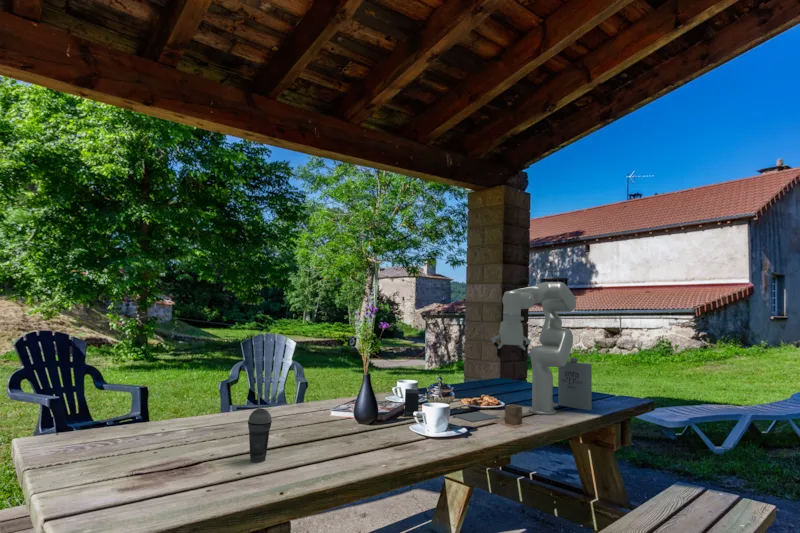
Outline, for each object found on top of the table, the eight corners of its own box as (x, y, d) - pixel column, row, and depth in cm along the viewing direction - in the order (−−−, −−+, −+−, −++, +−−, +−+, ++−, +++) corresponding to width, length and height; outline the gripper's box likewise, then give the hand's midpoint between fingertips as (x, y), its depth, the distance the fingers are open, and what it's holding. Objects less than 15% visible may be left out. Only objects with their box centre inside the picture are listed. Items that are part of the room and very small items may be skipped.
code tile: (511, 421, 212) (511, 418, 212) (534, 427, 202) (534, 424, 202) (492, 424, 205) (492, 422, 205) (515, 430, 195) (515, 428, 195)
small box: (418, 417, 215) (419, 392, 216) (404, 416, 215) (404, 392, 216) (418, 411, 226) (418, 389, 227) (404, 411, 226) (404, 388, 227)
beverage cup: (256, 465, 144) (260, 397, 146) (240, 461, 148) (244, 394, 150) (275, 459, 151) (278, 394, 152) (258, 455, 154) (262, 391, 156)
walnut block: (512, 421, 207) (512, 404, 208) (522, 423, 203) (522, 406, 204) (504, 422, 204) (505, 405, 205) (514, 425, 200) (514, 408, 201)
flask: (556, 404, 253) (556, 356, 255) (560, 403, 256) (560, 355, 258) (588, 410, 240) (588, 359, 242) (592, 409, 243) (592, 358, 245)
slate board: (478, 415, 222) (478, 411, 222) (498, 420, 213) (498, 416, 213) (453, 419, 213) (453, 415, 213) (472, 424, 203) (472, 421, 203)
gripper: (528, 320, 218) (527, 358, 216) (490, 318, 217) (489, 356, 215) (533, 320, 210) (532, 360, 208) (494, 317, 210) (492, 357, 208)
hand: (510, 358), depth 212 cm, fingers open, 9 cm apart
